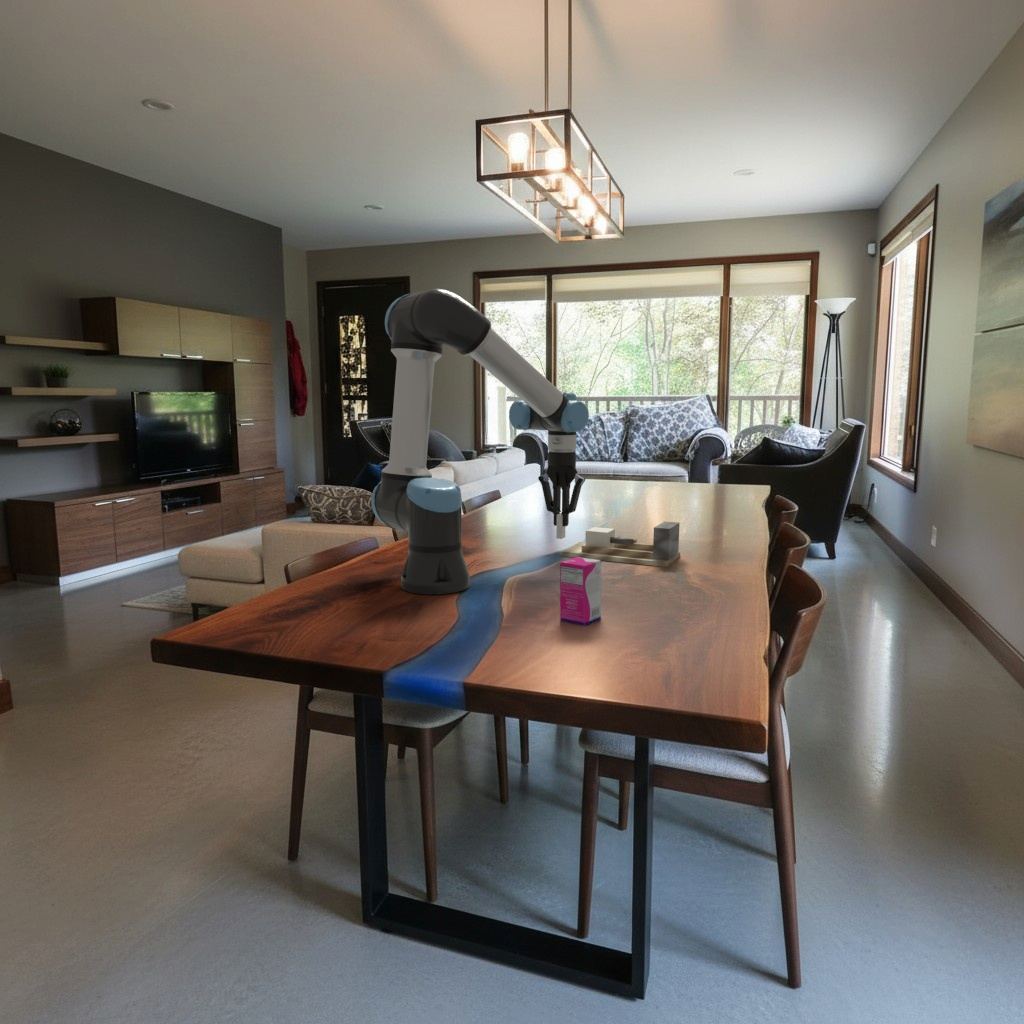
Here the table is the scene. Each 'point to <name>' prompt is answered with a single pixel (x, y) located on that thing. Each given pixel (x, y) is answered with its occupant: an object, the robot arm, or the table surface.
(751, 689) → the table surface
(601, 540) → the white block with rods
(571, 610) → the supplement box
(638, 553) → the board
